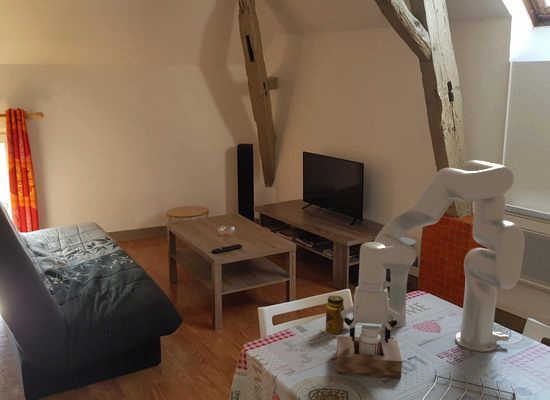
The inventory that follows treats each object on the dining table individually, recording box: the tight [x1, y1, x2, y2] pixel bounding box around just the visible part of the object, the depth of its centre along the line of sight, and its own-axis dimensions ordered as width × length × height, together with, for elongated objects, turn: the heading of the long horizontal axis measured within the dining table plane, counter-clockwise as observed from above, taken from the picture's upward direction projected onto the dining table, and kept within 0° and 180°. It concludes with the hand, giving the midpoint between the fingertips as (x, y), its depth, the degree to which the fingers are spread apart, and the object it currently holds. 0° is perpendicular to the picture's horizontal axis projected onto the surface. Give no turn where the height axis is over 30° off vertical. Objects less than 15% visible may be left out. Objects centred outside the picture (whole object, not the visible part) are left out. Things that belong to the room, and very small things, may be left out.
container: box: [388, 236, 417, 328], centre depth 179 cm, size 10×10×30 cm
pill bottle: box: [359, 323, 382, 356], centre depth 152 cm, size 6×6×11 cm
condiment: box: [320, 295, 350, 338], centre depth 174 cm, size 7×8×12 cm
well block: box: [336, 335, 403, 380], centre depth 153 cm, size 18×13×6 cm
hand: (369, 339), depth 152 cm, fingers open, 9 cm apart
